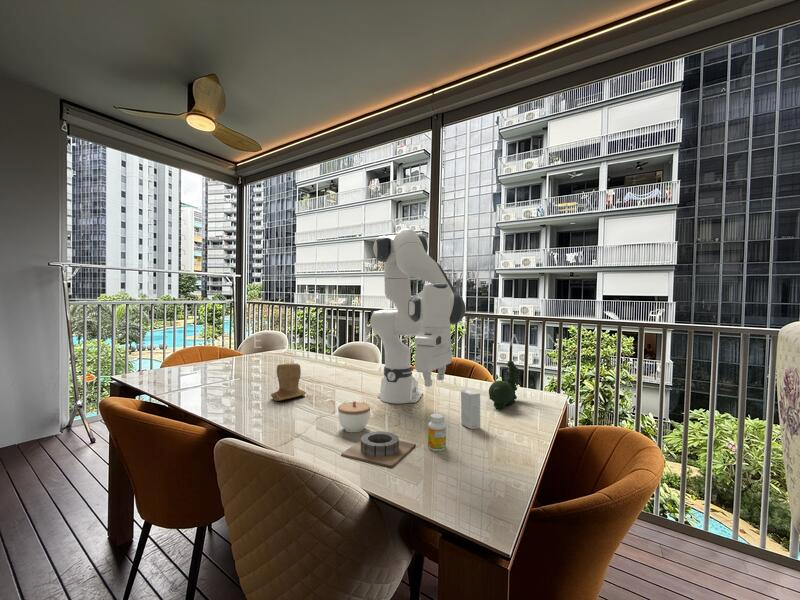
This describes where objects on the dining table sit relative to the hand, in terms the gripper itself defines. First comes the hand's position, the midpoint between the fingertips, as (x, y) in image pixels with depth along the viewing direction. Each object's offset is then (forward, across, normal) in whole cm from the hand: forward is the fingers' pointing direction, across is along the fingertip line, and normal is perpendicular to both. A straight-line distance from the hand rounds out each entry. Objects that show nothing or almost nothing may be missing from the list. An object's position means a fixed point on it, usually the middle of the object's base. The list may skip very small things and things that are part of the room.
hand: (434, 382), depth 111 cm
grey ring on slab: (+20, +9, -13) cm, 25 cm away
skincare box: (+20, -24, +4) cm, 31 cm away
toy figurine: (+19, -56, +9) cm, 60 cm away
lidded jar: (+20, -1, -29) cm, 35 cm away
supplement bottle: (+20, -1, +1) cm, 20 cm away
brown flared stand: (+20, -18, -76) cm, 80 cm away
